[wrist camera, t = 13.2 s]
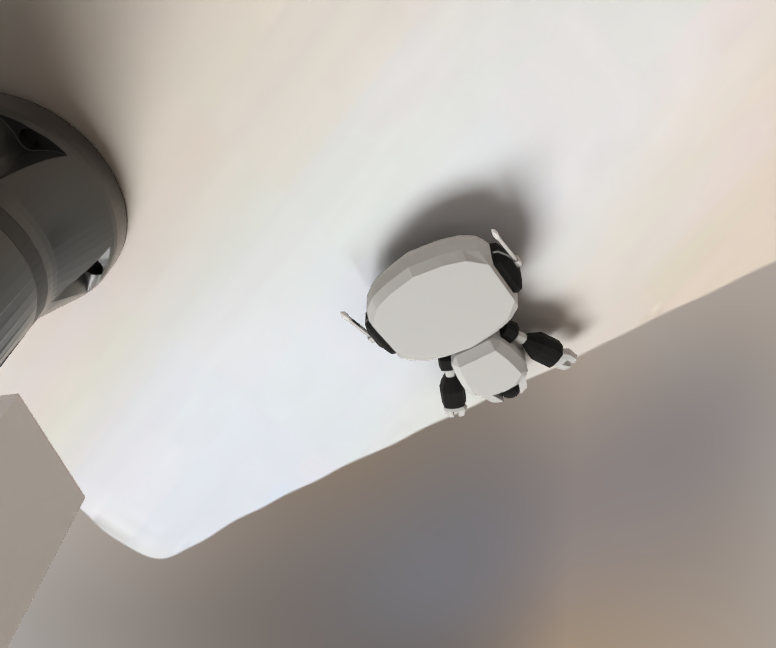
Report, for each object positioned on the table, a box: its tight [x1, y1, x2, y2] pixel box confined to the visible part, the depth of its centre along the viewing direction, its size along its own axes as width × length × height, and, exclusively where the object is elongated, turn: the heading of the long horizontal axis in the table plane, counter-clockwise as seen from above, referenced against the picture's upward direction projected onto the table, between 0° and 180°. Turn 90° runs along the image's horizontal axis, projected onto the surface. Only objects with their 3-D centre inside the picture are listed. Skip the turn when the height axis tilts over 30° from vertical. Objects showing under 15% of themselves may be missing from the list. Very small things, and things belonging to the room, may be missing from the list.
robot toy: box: [340, 229, 577, 417], centre depth 51 cm, size 12×4×15 cm
